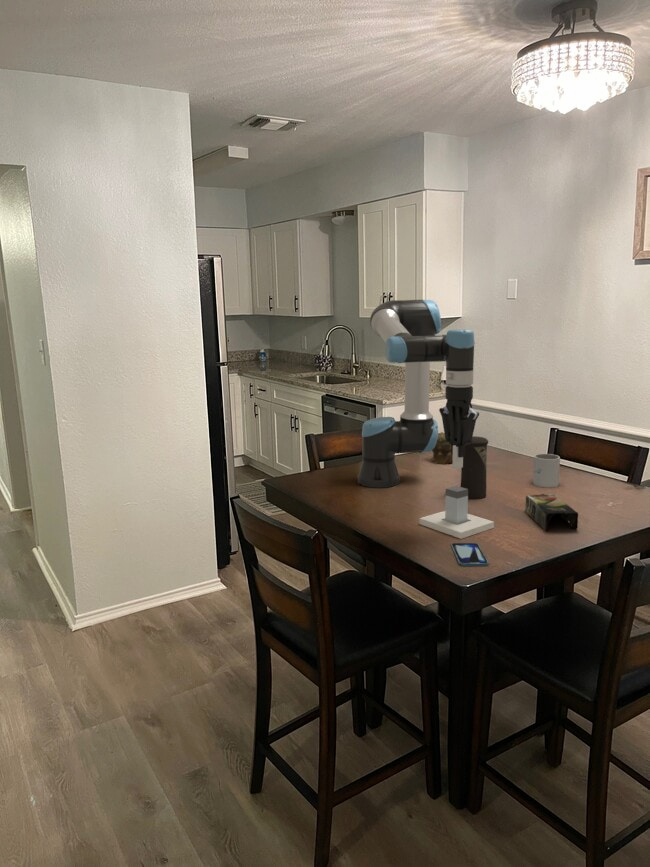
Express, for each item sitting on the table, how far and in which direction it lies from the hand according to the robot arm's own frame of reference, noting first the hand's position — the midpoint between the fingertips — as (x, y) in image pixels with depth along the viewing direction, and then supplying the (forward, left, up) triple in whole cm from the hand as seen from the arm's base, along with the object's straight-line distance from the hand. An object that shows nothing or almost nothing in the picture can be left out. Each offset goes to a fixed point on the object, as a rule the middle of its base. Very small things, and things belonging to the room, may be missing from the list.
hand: (457, 467), depth 188 cm
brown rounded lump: (-56, +55, -18) cm, 81 cm away
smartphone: (+17, -14, -18) cm, 28 cm away
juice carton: (+14, +25, -18) cm, 34 cm away
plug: (0, 0, -17) cm, 17 cm away
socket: (0, 0, -18) cm, 18 cm away
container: (-17, +27, -18) cm, 37 cm away
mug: (-11, +59, -18) cm, 62 cm away
